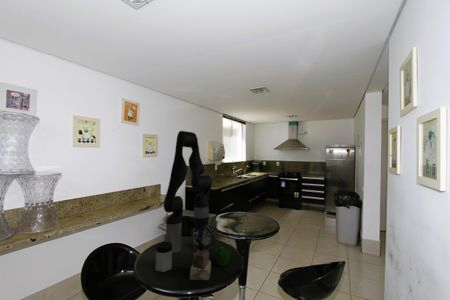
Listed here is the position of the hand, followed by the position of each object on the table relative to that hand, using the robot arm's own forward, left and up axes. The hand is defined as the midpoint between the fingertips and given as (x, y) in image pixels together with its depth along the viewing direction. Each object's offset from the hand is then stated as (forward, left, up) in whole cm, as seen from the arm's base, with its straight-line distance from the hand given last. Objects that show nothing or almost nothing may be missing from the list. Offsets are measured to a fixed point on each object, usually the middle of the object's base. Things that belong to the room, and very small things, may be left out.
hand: (201, 250), depth 107 cm
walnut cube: (0, 0, -7) cm, 7 cm away
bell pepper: (+7, +13, -12) cm, 19 cm away
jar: (-21, 0, -12) cm, 24 cm away
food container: (-11, +29, -12) cm, 33 cm away
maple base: (0, 0, -12) cm, 12 cm away
